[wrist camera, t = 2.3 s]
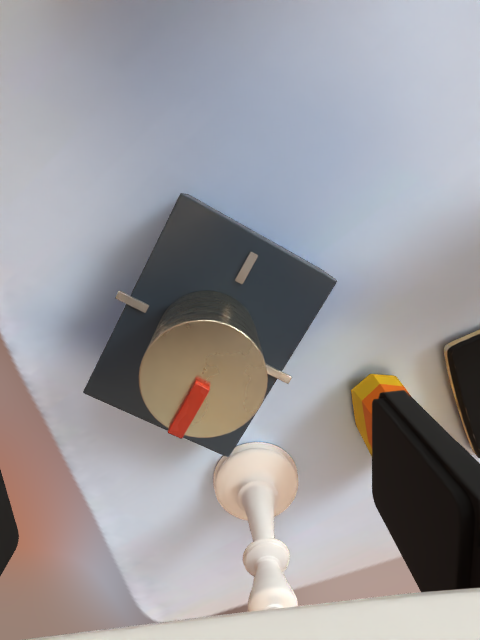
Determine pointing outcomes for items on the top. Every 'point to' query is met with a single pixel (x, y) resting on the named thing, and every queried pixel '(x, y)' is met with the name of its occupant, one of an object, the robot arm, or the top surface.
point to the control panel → (210, 275)
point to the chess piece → (260, 515)
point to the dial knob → (204, 367)
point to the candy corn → (364, 398)
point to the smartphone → (466, 383)
